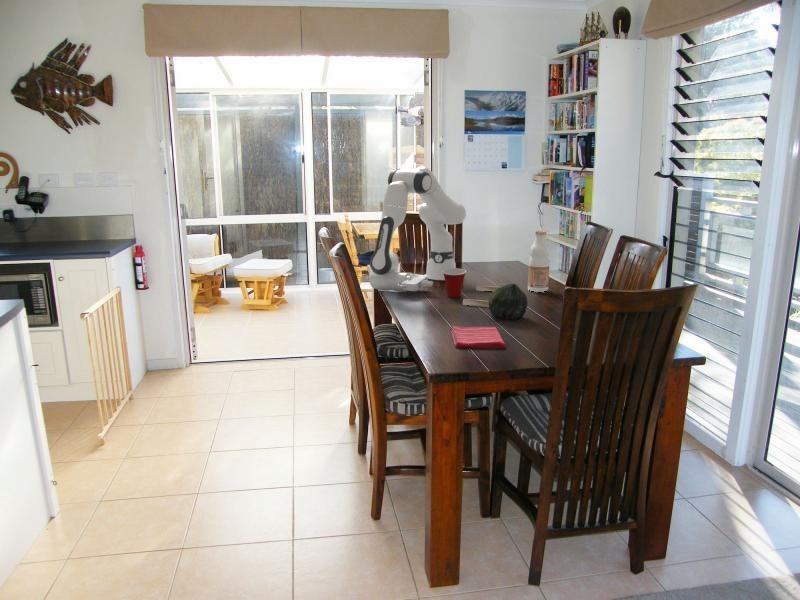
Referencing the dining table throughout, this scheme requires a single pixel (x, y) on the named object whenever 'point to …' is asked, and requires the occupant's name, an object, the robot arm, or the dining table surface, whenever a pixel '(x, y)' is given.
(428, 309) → the dining table surface
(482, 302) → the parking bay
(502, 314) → the squash
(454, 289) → the plastic cup
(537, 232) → the fruit juice
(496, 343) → the dish towel
